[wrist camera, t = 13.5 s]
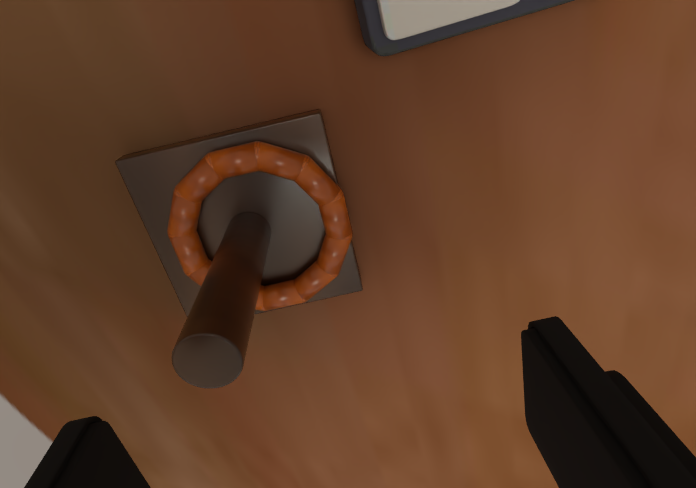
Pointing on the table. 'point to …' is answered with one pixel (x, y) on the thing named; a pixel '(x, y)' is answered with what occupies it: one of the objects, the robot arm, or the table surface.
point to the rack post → (235, 239)
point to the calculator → (434, 19)
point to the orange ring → (274, 163)
